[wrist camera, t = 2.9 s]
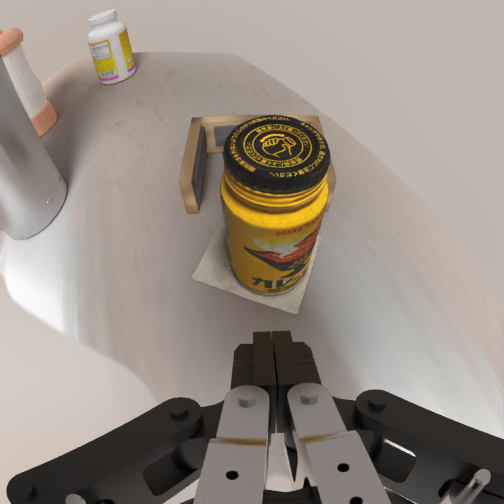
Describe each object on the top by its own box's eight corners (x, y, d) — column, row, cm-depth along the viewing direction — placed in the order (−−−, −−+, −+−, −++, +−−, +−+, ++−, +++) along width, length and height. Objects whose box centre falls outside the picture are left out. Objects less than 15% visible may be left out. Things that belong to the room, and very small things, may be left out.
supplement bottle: (129, 64, 45) (115, 6, 34) (142, 73, 42) (127, 7, 31) (96, 80, 43) (78, 20, 32) (106, 90, 40) (86, 23, 29)
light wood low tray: (187, 213, 27) (178, 182, 23) (197, 147, 31) (192, 117, 28) (327, 211, 27) (336, 180, 23) (313, 145, 31) (318, 116, 28)
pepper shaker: (63, 120, 37) (23, 16, 20) (26, 149, 34) (-24, 47, 18) (50, 110, 39) (14, 19, 23) (16, 135, 37) (-27, 46, 20)
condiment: (297, 315, 22) (332, 214, 12) (191, 279, 24) (148, 166, 13) (321, 236, 25) (355, 118, 15) (227, 209, 27) (214, 89, 17)
